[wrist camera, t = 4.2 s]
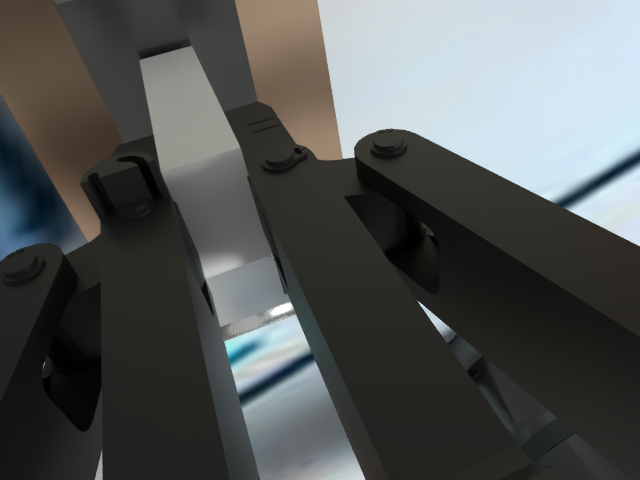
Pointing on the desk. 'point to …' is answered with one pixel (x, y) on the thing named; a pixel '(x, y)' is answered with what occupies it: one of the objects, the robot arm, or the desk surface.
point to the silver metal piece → (134, 118)
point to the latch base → (93, 117)
